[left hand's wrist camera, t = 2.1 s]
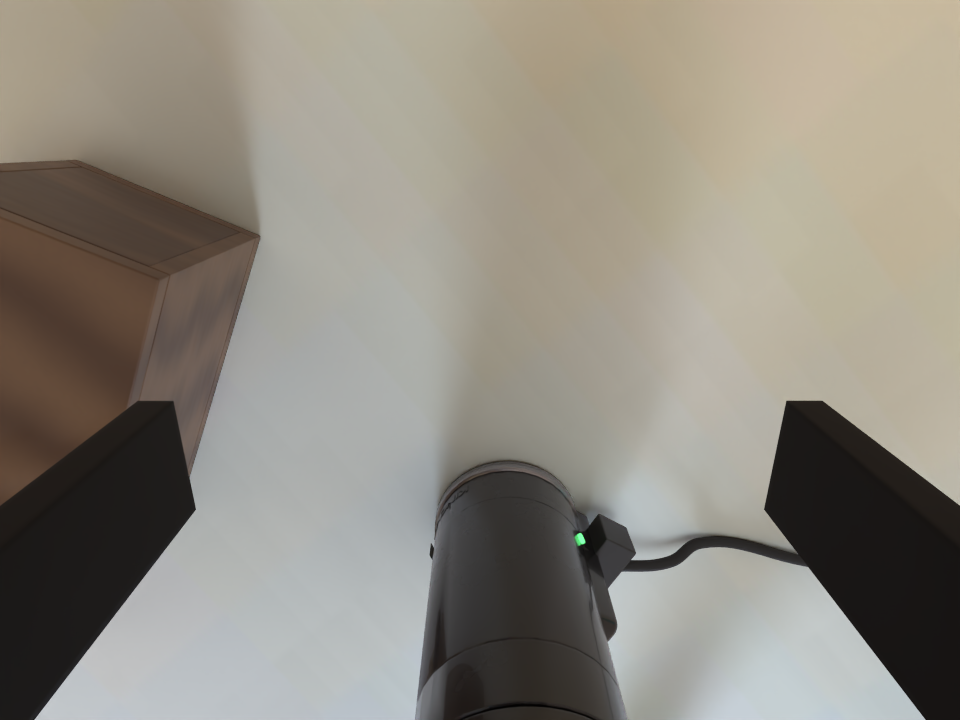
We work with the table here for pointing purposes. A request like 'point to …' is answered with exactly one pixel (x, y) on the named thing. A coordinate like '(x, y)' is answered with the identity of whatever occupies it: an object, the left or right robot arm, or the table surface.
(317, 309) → the table surface
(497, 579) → the right robot arm
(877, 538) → the left robot arm
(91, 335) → the cabinet
